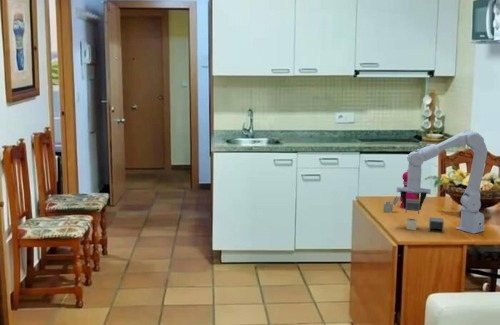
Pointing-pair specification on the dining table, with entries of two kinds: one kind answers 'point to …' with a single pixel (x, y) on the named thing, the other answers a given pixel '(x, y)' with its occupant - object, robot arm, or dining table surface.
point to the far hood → (412, 205)
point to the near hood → (436, 223)
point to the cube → (411, 224)
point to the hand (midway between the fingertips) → (412, 208)
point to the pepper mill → (405, 178)
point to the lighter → (390, 205)
